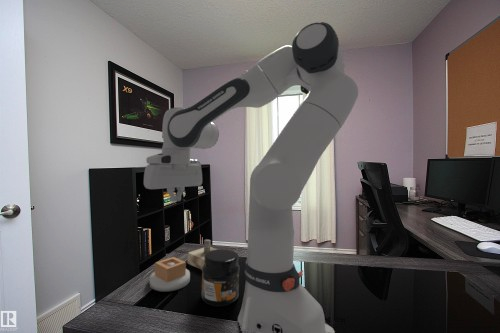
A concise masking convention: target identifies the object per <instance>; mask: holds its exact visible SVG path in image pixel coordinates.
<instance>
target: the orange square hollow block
mask: <svg viewBox="0 0 500 333" xmlns="http://www.w3.org/2000/svg"><path fill="white" fill-rule="evenodd" d="M170 262H173V263H175V264H174V265H172V266H167V263H170ZM186 266H187V261H184V260H181V259H180V258H178V257H175V256H172V257H168V258H166V259H163V260H159V261H156V262H155V263H154V272H155V276H157V277H158V278H160V279H162V280H164V281H165V282H169V281H172V280H174V279H177V278H179V277H181V276H184V275H185V274H186V269H187V267H186Z"/></svg>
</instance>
